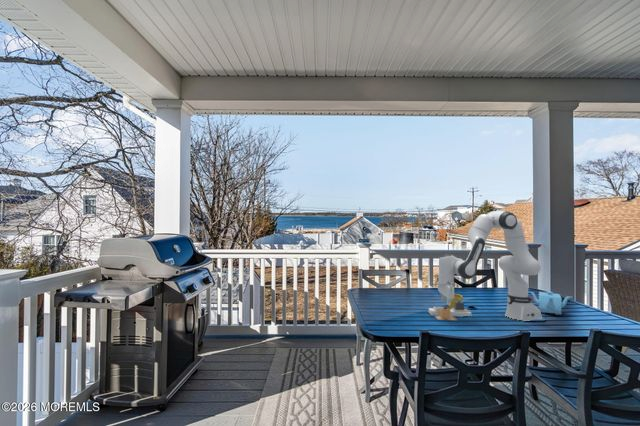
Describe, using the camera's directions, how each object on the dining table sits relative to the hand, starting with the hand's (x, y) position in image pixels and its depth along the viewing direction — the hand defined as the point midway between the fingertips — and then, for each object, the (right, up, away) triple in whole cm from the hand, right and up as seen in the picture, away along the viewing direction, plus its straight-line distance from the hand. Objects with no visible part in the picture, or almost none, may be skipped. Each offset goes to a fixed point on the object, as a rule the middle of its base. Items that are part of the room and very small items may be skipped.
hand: (445, 302), depth 208 cm
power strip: (+6, -10, +9) cm, 14 cm away
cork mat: (0, -10, 0) cm, 10 cm away
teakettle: (+77, -13, +19) cm, 80 cm away
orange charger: (-1, -9, 0) cm, 9 cm away
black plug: (+12, -8, +9) cm, 16 cm away
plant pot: (+14, -11, +22) cm, 28 cm away
